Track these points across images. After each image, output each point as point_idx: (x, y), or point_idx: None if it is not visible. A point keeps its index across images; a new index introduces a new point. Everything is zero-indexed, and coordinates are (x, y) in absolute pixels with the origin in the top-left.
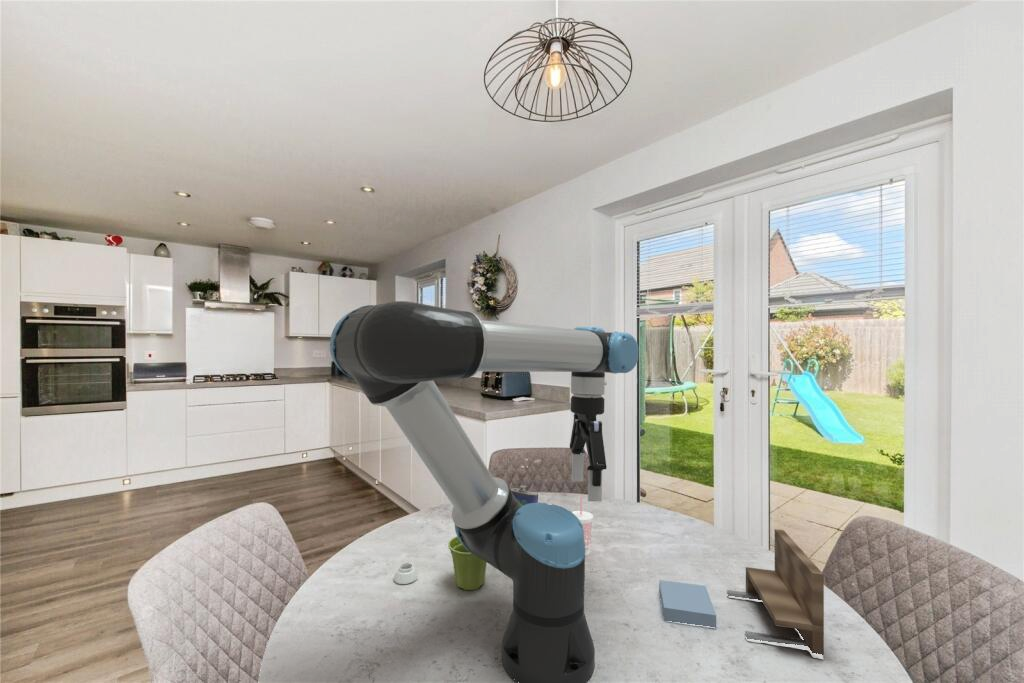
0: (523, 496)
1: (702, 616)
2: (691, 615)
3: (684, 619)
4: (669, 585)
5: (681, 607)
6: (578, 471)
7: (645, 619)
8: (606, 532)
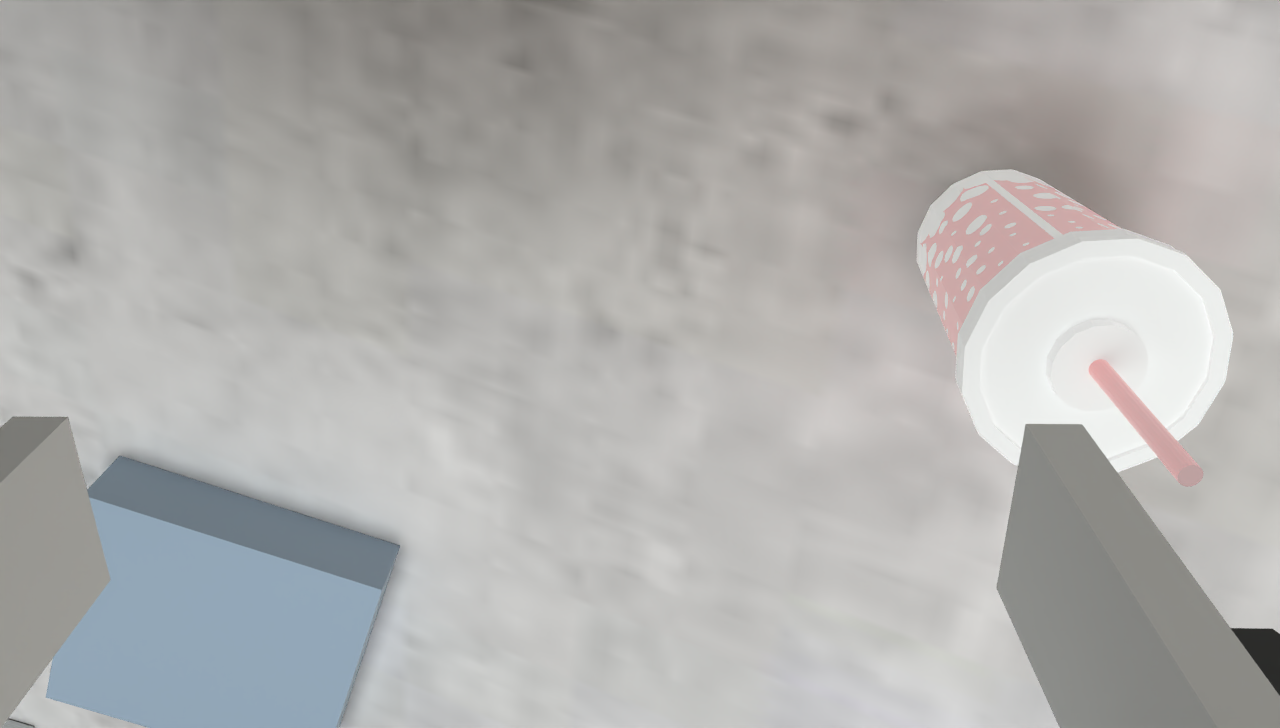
0: None
1: None
2: None
3: None
4: (316, 615)
5: None
6: (1072, 634)
7: (127, 370)
8: (1251, 528)
